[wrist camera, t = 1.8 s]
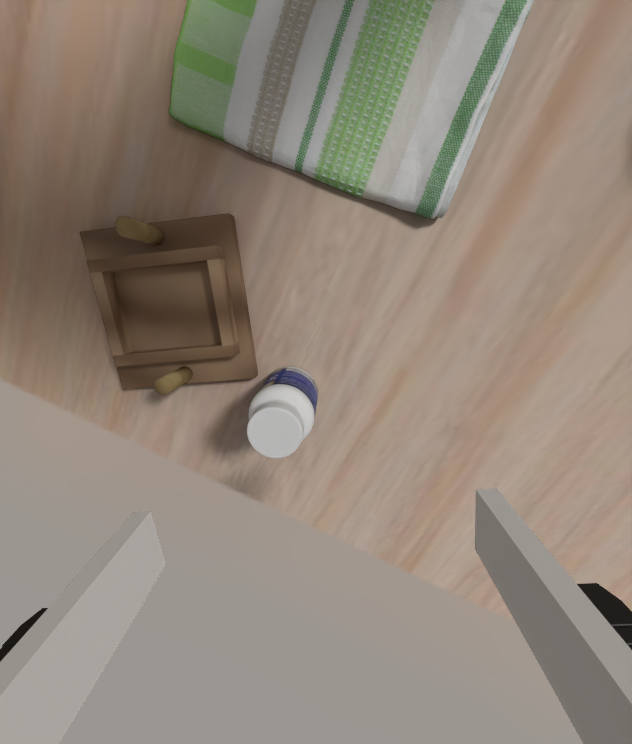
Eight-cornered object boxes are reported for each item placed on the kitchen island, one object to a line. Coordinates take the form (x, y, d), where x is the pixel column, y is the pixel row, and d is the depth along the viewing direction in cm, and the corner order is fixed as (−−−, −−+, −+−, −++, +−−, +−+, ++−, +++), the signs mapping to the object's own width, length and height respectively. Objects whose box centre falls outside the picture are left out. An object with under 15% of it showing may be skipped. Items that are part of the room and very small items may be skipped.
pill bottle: (275, 357, 29) (252, 385, 21) (326, 378, 30) (324, 415, 21) (257, 404, 31) (227, 450, 22) (305, 424, 31) (295, 476, 22)
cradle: (90, 234, 27) (35, 222, 22) (233, 216, 26) (210, 200, 21) (130, 385, 31) (91, 404, 26) (257, 374, 30) (242, 392, 25)
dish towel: (435, 228, 26) (451, 219, 23) (174, 131, 25) (149, 107, 22) (541, -26, 22) (580, -84, 18) (226, -156, 21) (205, -243, 17)
